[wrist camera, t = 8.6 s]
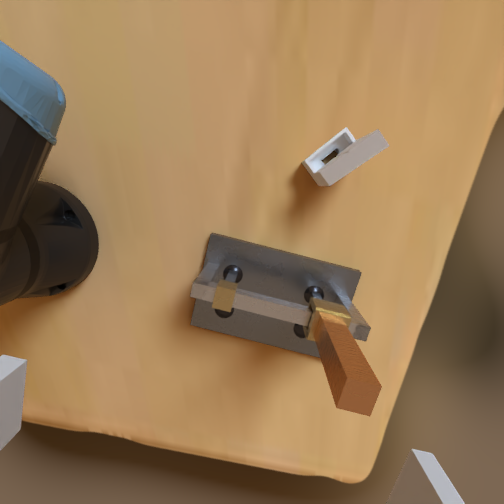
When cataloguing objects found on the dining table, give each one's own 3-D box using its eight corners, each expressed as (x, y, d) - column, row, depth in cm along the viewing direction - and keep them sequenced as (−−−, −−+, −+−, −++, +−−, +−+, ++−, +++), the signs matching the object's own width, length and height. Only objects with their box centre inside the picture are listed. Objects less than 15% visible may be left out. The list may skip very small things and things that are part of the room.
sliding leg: (297, 305, 40) (325, 412, 21) (304, 280, 39) (341, 368, 20) (323, 312, 40) (375, 425, 21) (331, 287, 39) (393, 381, 20)
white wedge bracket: (396, 128, 34) (389, 145, 28) (324, 179, 41) (304, 202, 34) (377, 101, 34) (366, 112, 27) (307, 157, 40) (285, 176, 34)
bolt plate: (192, 321, 43) (190, 325, 42) (212, 232, 40) (210, 234, 39) (329, 355, 43) (331, 360, 42) (358, 270, 40) (361, 273, 39)
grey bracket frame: (205, 276, 40) (188, 301, 32) (209, 259, 40) (192, 279, 31) (344, 311, 41) (365, 346, 32) (349, 295, 40) (373, 326, 31)
